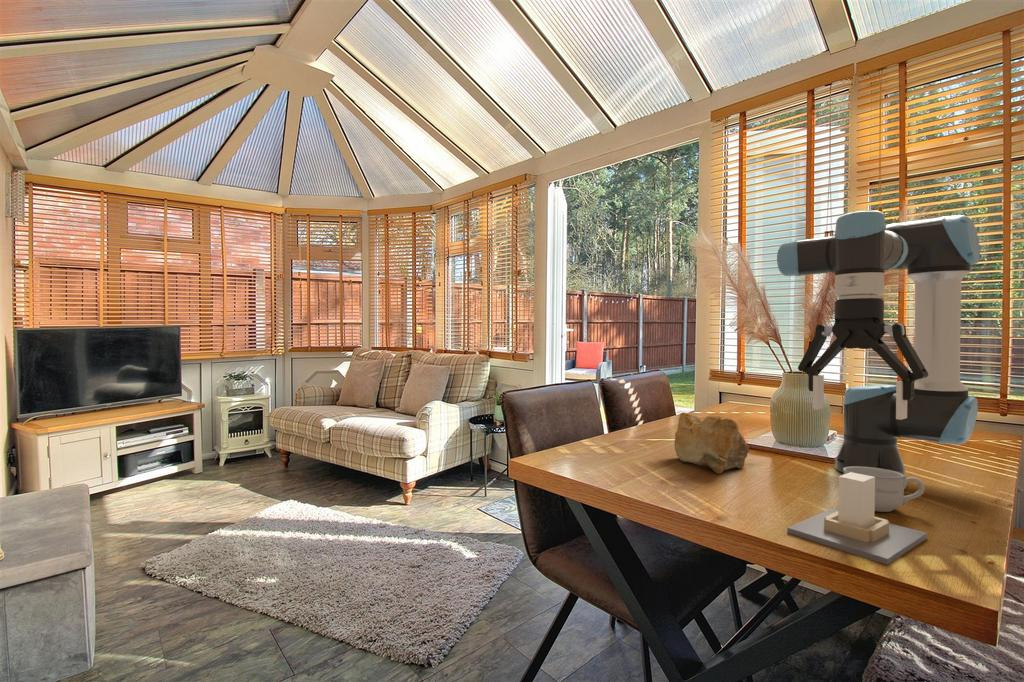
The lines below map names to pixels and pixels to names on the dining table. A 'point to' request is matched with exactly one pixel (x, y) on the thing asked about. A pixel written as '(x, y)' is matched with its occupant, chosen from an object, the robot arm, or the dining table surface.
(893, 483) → the teacup
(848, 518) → the plug
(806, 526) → the socket plate
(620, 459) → the dining table surface
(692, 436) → the rough brown rock
